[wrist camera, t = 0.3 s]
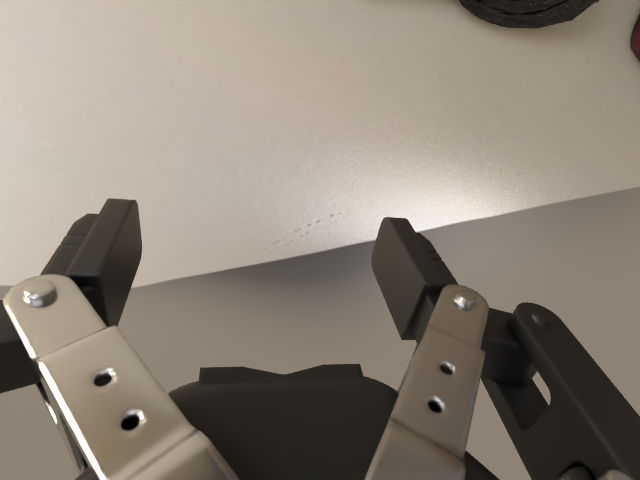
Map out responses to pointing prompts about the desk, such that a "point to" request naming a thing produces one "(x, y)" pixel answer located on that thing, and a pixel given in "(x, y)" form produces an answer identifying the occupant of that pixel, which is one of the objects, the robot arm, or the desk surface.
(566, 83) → the desk surface
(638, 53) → the vegetable
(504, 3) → the hairbrush
